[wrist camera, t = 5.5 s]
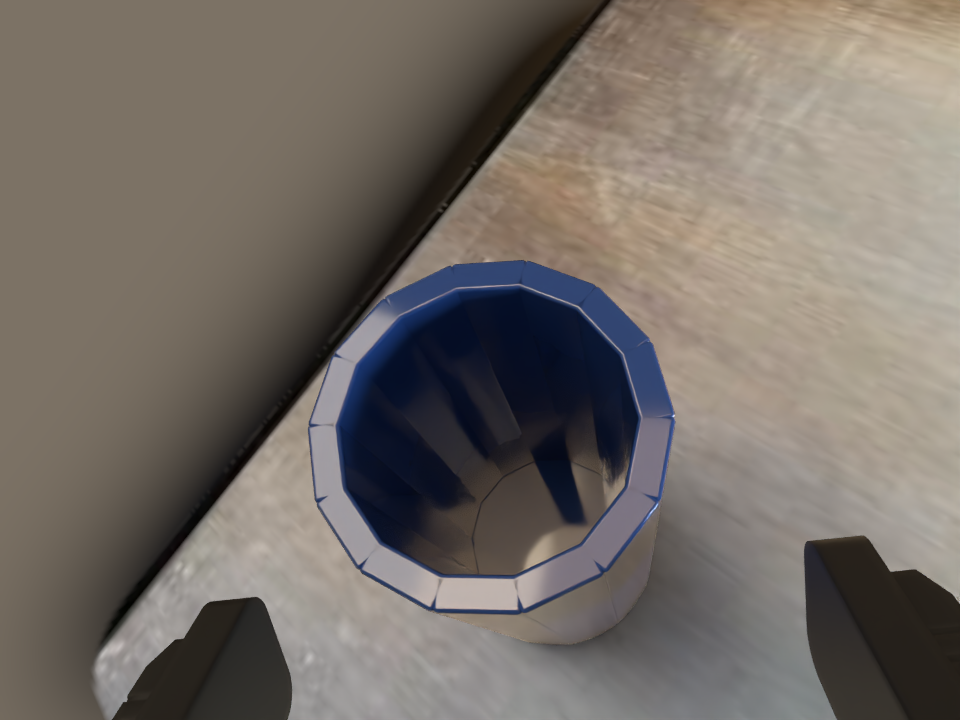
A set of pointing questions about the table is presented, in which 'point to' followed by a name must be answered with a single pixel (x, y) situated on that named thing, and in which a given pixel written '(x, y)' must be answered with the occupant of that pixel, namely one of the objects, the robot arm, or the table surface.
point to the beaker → (497, 450)
